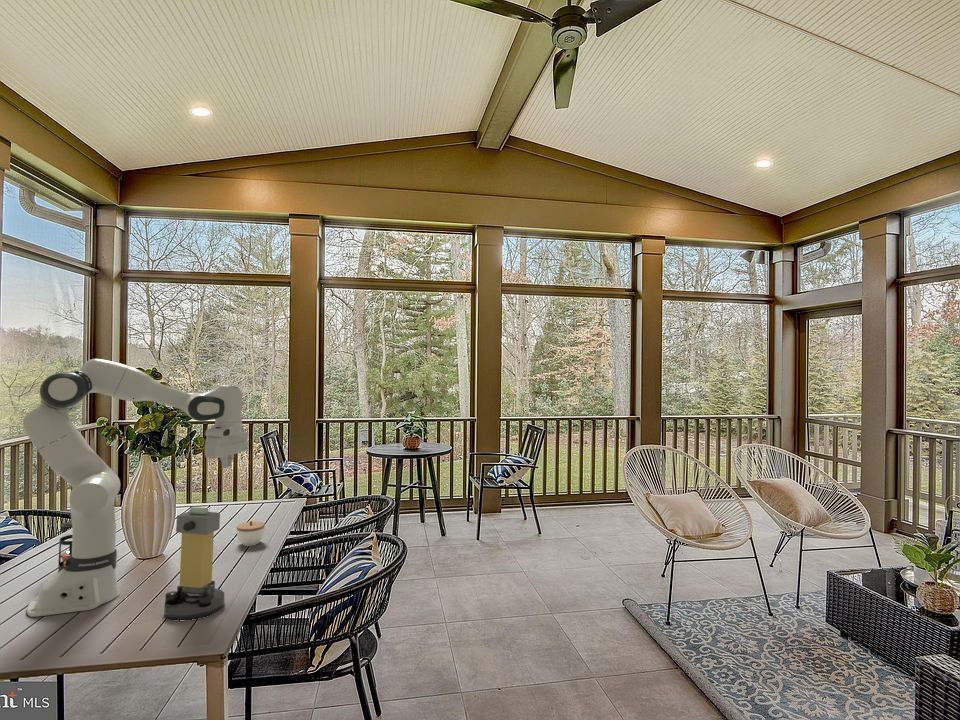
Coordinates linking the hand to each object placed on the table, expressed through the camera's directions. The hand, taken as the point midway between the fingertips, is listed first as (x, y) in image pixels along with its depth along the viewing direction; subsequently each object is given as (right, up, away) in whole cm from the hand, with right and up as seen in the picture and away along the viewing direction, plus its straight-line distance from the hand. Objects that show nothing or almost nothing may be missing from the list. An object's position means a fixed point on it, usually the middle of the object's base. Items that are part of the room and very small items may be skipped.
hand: (226, 467), depth 191 cm
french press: (-51, -36, -5) cm, 63 cm away
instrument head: (+6, -32, -32) cm, 46 cm away
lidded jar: (-4, -38, +28) cm, 47 cm away
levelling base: (+6, -36, -31) cm, 48 cm away
